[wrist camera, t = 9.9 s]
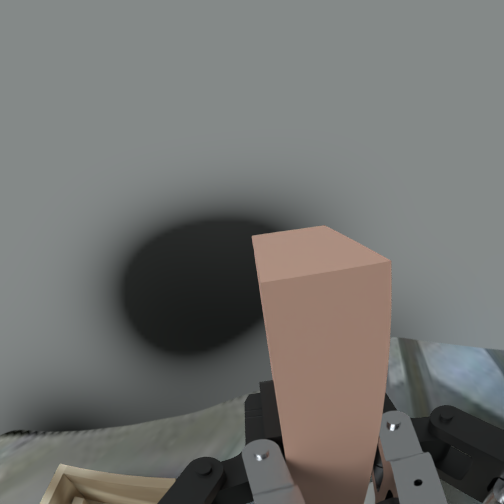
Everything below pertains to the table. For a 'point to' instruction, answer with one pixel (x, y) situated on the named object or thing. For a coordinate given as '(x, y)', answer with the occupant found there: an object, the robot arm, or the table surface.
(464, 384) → the table surface
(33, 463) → the table surface
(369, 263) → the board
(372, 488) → the mat
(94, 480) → the rack
